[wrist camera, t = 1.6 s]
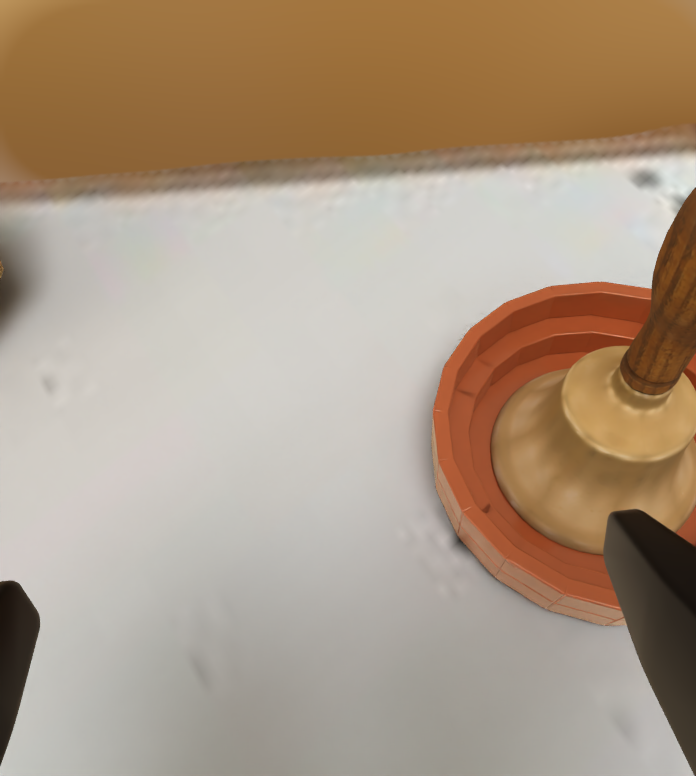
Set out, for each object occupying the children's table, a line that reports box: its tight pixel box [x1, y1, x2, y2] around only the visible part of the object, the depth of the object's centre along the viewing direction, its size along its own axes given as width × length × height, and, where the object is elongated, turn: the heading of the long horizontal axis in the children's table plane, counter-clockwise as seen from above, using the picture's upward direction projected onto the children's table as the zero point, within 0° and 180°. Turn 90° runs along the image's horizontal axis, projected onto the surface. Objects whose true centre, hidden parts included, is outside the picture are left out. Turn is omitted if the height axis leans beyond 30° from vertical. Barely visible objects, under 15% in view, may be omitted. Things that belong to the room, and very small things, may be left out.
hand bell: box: [491, 188, 696, 555], centre depth 17 cm, size 8×8×16 cm
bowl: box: [431, 282, 696, 626], centre depth 23 cm, size 13×13×4 cm
